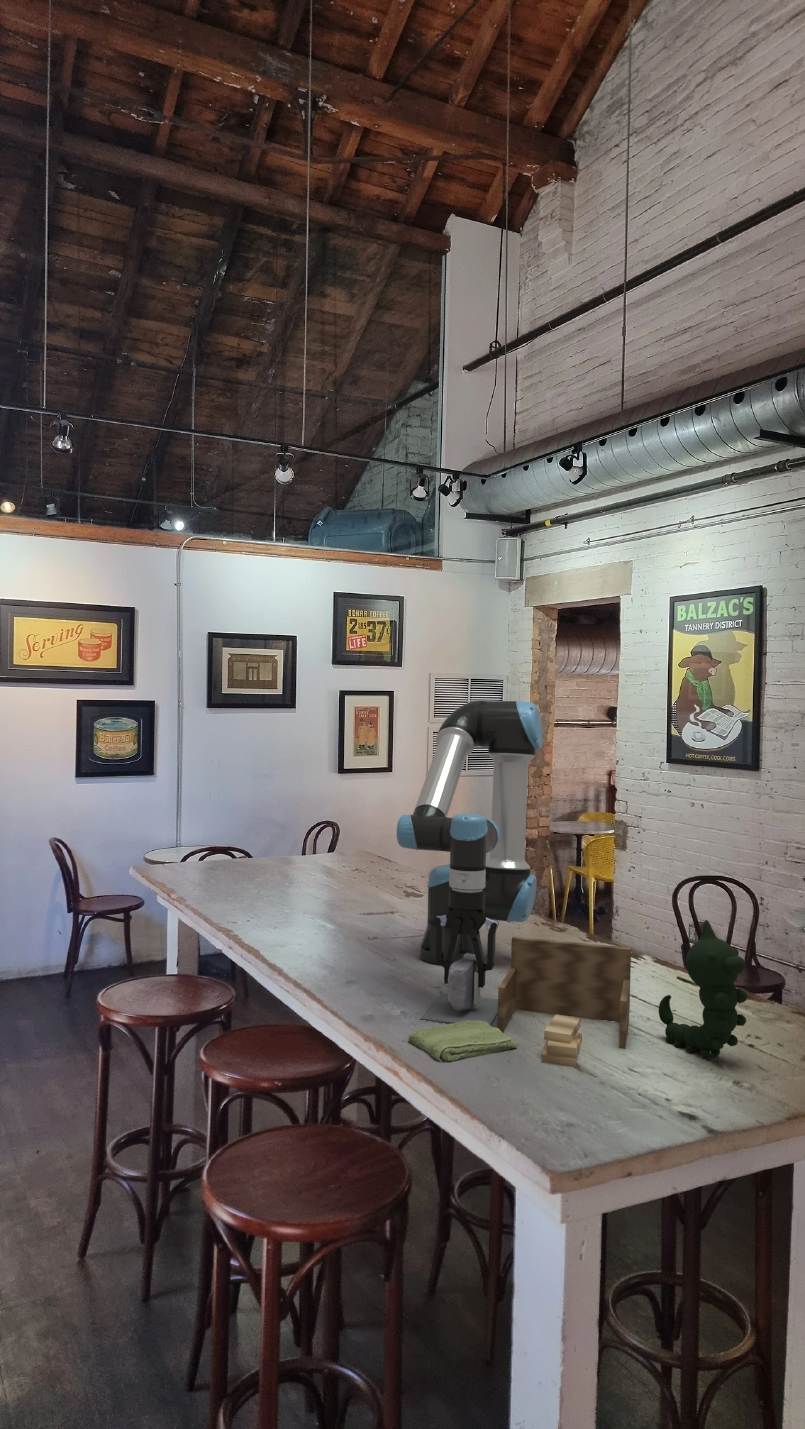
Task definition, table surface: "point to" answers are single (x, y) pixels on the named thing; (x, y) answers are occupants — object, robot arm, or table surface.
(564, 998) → the walnut rack
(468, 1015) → the charcoal panel
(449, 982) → the stone block
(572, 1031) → the offcut stack
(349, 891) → the table surface
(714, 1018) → the toy figurine
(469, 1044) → the washcloth
